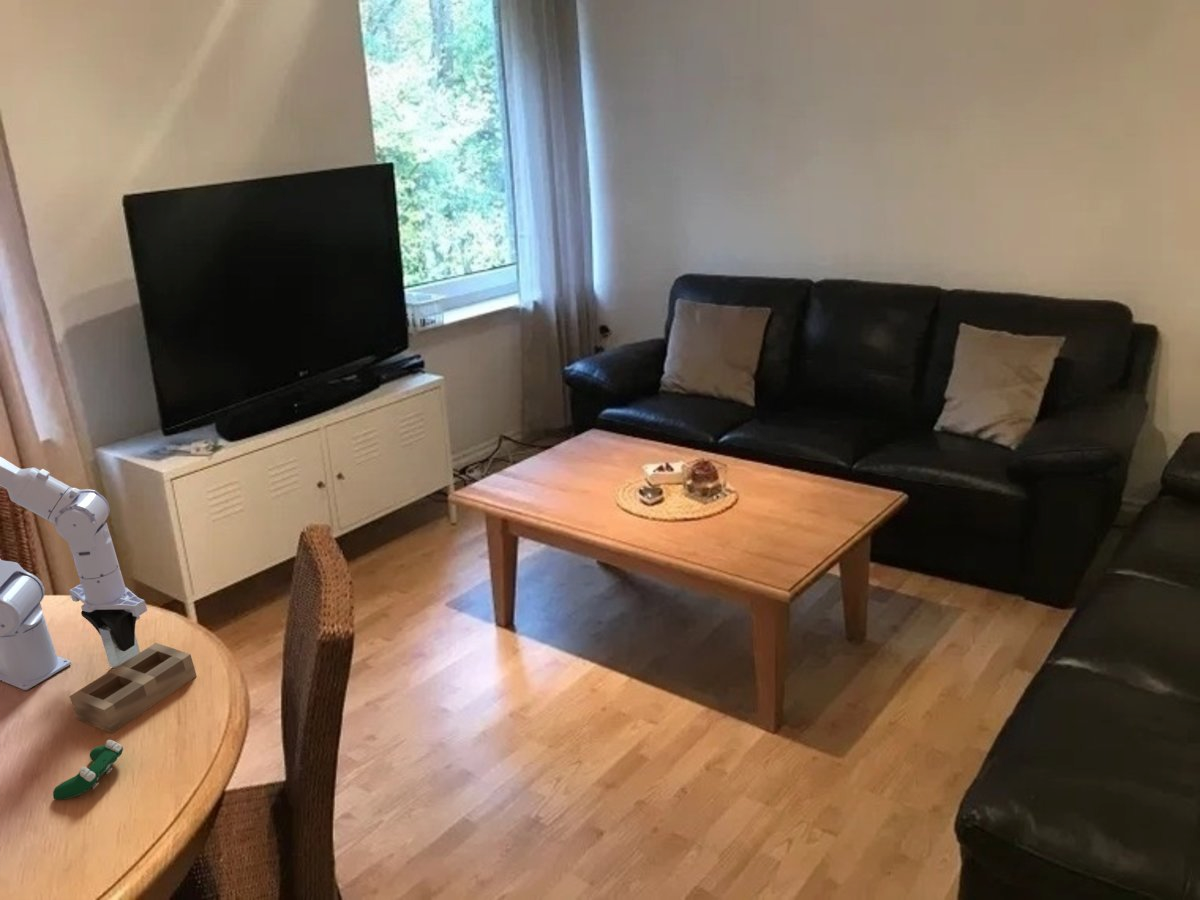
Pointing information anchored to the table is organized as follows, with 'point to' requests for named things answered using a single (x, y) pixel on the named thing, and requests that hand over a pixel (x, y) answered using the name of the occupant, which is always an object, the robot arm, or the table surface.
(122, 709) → the tan divided tray
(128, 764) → the table surface
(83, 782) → the green elongated piece
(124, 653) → the white rectangular pillar
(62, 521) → the robot arm
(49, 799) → the table surface
